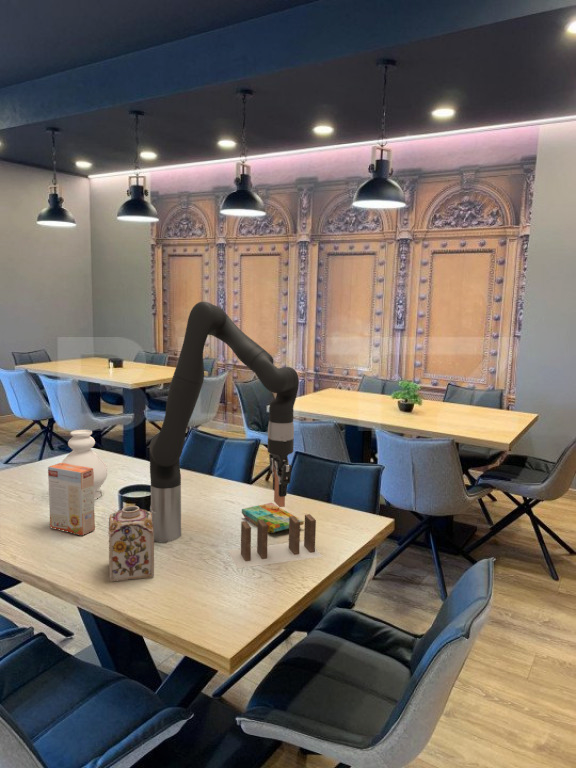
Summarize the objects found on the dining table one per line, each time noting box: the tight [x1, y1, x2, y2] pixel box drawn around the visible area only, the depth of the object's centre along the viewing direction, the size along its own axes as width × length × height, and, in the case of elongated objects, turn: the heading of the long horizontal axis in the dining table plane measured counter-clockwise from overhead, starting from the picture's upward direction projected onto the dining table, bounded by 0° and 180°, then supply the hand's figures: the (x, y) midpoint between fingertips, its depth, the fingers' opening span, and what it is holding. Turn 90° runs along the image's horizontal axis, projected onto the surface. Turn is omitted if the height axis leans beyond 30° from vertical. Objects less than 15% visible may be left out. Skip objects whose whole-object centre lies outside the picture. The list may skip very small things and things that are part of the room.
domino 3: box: [273, 469, 286, 508], centre depth 165 cm, size 2×5×10 cm, turn 19°
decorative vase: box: [61, 429, 109, 501], centre depth 210 cm, size 18×18×25 cm
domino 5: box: [303, 513, 317, 553], centre depth 170 cm, size 2×5×10 cm, turn 19°
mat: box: [227, 540, 324, 569], centre depth 167 cm, size 26×12×1 cm, turn 109°
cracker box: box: [47, 462, 96, 536], centre depth 181 cm, size 14×6×21 cm, turn 65°
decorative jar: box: [108, 505, 155, 582], centre depth 154 cm, size 12×12×18 cm
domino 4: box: [288, 515, 301, 555], centre depth 169 cm, size 2×5×10 cm, turn 19°
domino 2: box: [256, 519, 269, 559], centre depth 165 cm, size 2×5×10 cm, turn 19°
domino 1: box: [240, 520, 252, 561], centre depth 164 cm, size 2×5×10 cm, turn 19°
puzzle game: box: [241, 502, 305, 534], centre depth 190 cm, size 12×5×20 cm
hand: (279, 492), depth 165 cm, fingers closed on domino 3, 5 cm apart
